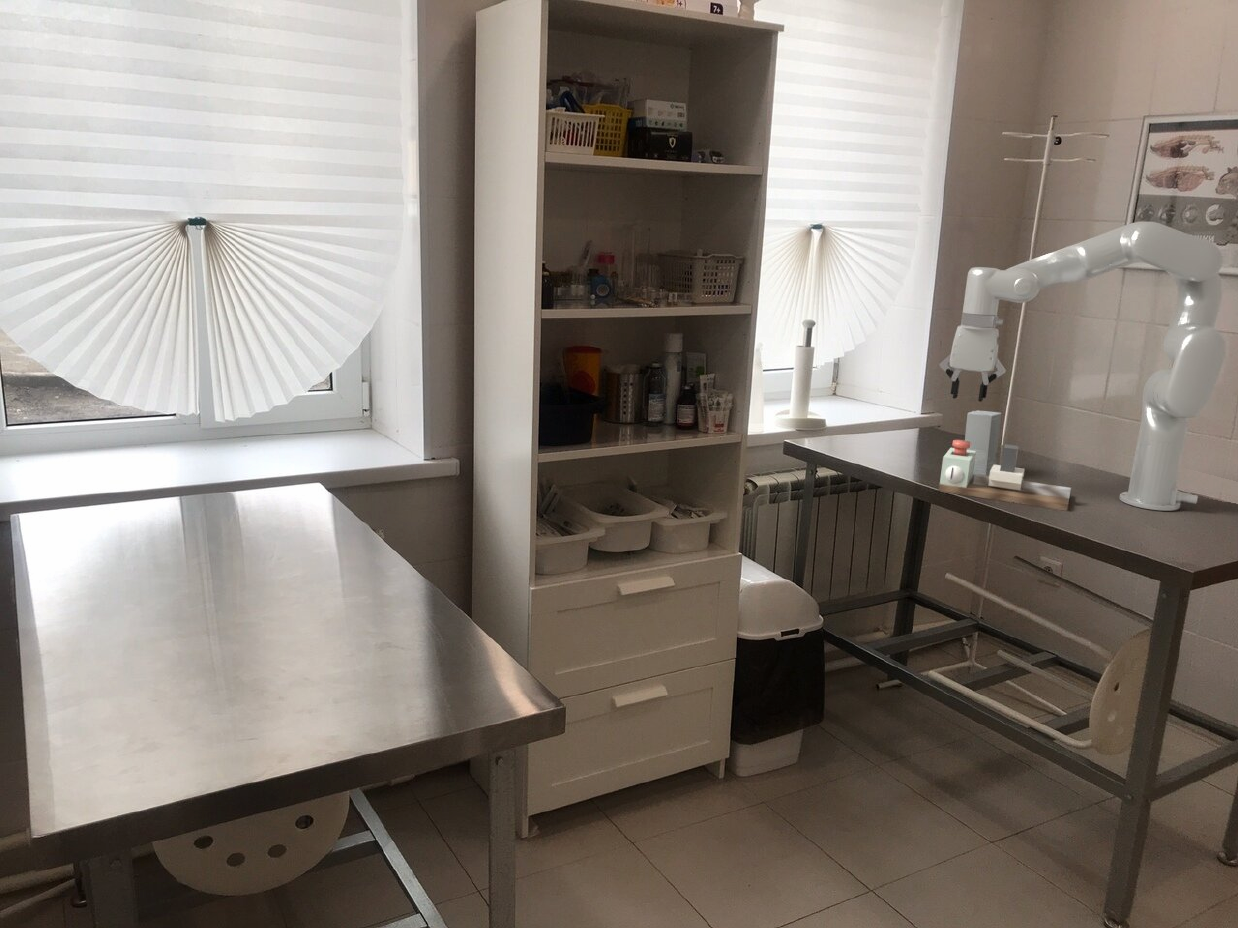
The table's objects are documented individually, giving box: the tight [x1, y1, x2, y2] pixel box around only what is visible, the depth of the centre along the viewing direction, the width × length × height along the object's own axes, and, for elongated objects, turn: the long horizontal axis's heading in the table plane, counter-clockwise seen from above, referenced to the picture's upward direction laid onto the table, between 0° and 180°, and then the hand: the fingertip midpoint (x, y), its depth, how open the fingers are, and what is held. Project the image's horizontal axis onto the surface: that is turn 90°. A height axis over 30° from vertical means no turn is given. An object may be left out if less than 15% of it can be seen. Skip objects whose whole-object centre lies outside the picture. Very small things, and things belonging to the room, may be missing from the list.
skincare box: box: [964, 409, 1003, 476], centre depth 251 cm, size 8×7×16 cm
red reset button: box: [952, 439, 970, 456], centre depth 236 cm, size 4×4×3 cm
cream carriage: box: [988, 443, 1025, 490], centre depth 232 cm, size 7×8×9 cm
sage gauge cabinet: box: [939, 447, 976, 488], centre depth 237 cm, size 6×12×6 cm, turn 154°
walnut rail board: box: [937, 474, 1072, 512], centre depth 233 cm, size 28×14×4 cm, turn 64°
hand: (967, 398), depth 233 cm, fingers open, 5 cm apart
